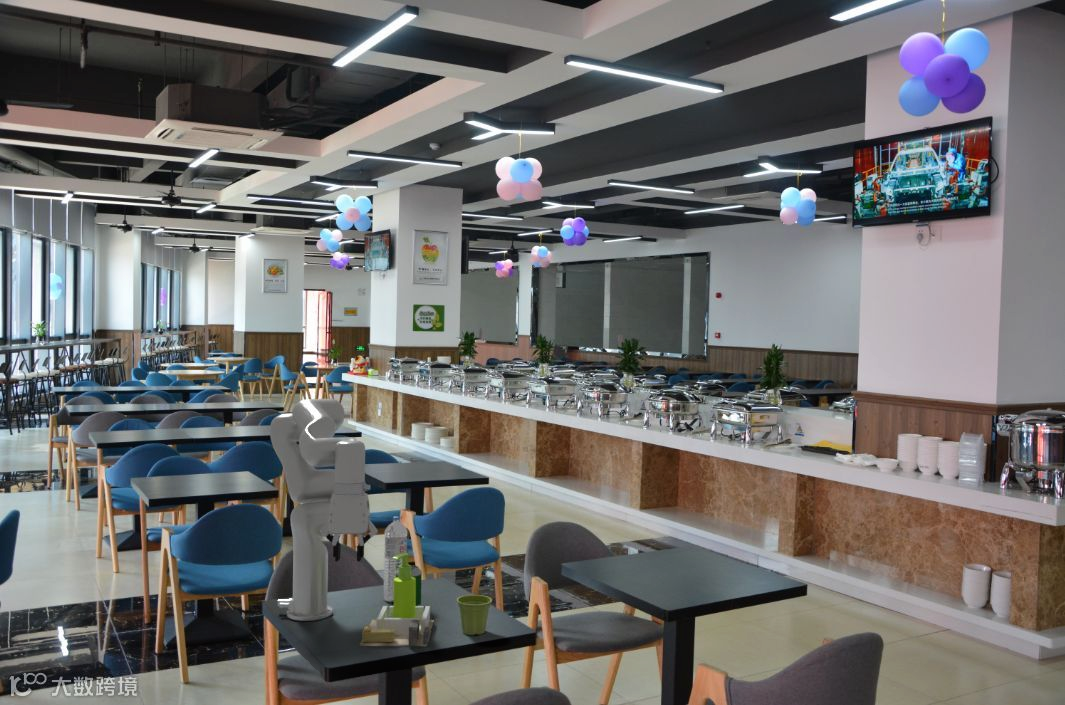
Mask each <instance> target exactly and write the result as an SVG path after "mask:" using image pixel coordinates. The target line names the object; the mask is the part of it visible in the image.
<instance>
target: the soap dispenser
mask: <svg viewBox="0 0 1065 705" xmlns="http://www.w3.org/2000/svg"><path fill="white" fill-rule="evenodd" d="M411 556H412V553H408V552H407V553H401V554H398V555H396V556H394V557H393V559H397V560H399V559H401V558H402V564H401V565H400V566H399V577H397V578H395V579H394V603H393V606H394V607H393V618H415V608H416V578H414V577H411V565H410V564H409V557H411Z"/></svg>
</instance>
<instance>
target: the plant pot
mask: <svg viewBox="0 0 1065 705" xmlns="http://www.w3.org/2000/svg"><path fill="white" fill-rule="evenodd" d="M456 602H457V603H458V607H459V612H460V621H461V630H462V633H463V634H465V635H469V636H475V635H483V634H484V633H486V630H487V628H486V627H487V623H488V622H487V621H488V616H489V610H490V607H491V603H492V602H493V598H492V597H489V596H487V595H482V594H480V595H479V594H468V595H461V596H459V597H457V598H456Z"/></svg>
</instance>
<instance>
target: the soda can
mask: <svg viewBox="0 0 1065 705" xmlns="http://www.w3.org/2000/svg"><path fill="white" fill-rule="evenodd" d="M422 572H423V571H422V570H421V568H419V566H417V565H411V577H414V578H416V606H422V579H423V578H422V575H423V574H422ZM397 577H399V568H398V569H397V570H396V578H397Z"/></svg>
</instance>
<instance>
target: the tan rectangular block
mask: <svg viewBox="0 0 1065 705" xmlns="http://www.w3.org/2000/svg"><path fill="white" fill-rule="evenodd" d="M361 634H362V635H361V638H362V639H361V641H362V642H394V640H395V629H371V626H369V625H364V626H363V630H362V633H361Z"/></svg>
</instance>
